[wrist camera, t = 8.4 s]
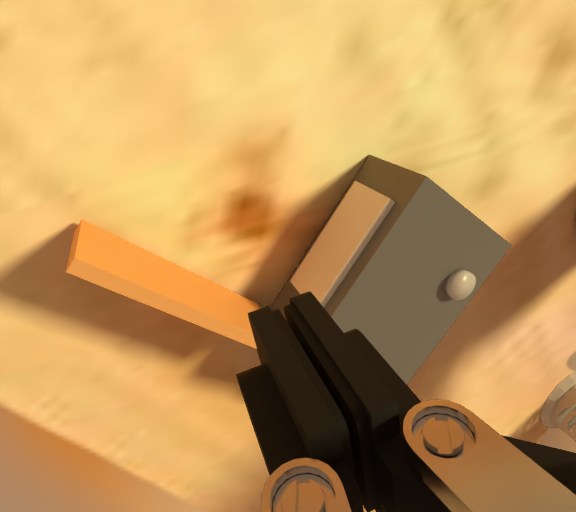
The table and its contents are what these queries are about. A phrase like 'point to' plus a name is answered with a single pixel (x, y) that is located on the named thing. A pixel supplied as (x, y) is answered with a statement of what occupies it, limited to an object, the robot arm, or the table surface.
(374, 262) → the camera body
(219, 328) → the side door
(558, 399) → the french press
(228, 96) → the table surface
